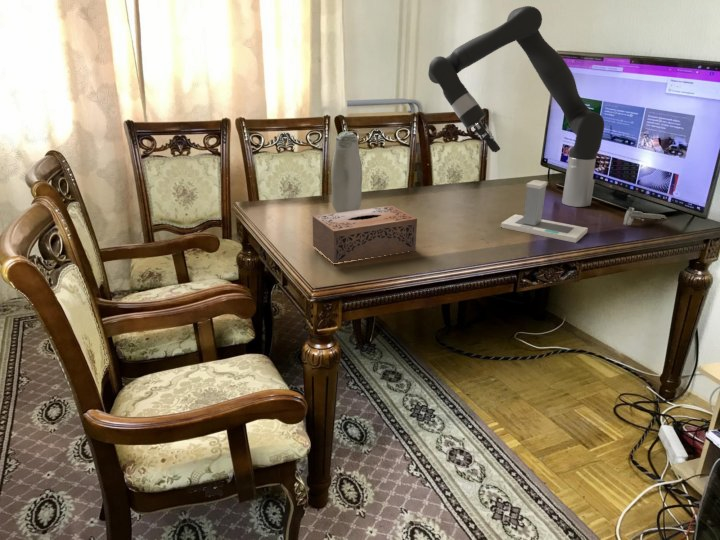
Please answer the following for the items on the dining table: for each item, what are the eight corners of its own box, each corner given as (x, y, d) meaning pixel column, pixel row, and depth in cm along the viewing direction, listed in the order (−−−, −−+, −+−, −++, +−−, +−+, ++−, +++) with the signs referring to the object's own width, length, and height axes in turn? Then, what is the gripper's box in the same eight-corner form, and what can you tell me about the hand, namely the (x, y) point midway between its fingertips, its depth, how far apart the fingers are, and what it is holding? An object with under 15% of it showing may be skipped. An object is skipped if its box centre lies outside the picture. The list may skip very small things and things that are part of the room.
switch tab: (521, 223, 187) (526, 183, 182) (528, 218, 192) (533, 179, 187) (535, 226, 185) (540, 185, 180) (542, 221, 190) (547, 181, 185)
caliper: (625, 226, 192) (629, 208, 190) (622, 226, 193) (626, 207, 191) (666, 219, 201) (670, 201, 198) (664, 218, 202) (667, 200, 199)
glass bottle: (329, 211, 203) (328, 129, 192) (357, 209, 205) (358, 128, 195) (334, 219, 194) (334, 134, 183) (364, 218, 196) (365, 133, 186)
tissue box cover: (390, 236, 180) (391, 205, 176) (415, 252, 168) (417, 218, 164) (313, 249, 169) (312, 216, 166) (333, 266, 158) (333, 231, 154)
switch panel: (500, 227, 189) (501, 222, 188) (514, 218, 198) (515, 213, 198) (575, 242, 176) (576, 237, 176) (587, 232, 185) (587, 227, 185)
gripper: (475, 101, 184) (505, 142, 184) (480, 105, 198) (508, 144, 197) (455, 116, 187) (485, 157, 187) (461, 119, 200) (489, 157, 200)
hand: (496, 150), depth 192 cm, fingers open, 8 cm apart
